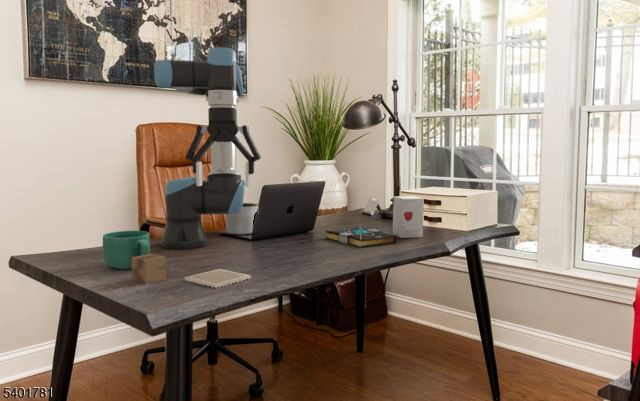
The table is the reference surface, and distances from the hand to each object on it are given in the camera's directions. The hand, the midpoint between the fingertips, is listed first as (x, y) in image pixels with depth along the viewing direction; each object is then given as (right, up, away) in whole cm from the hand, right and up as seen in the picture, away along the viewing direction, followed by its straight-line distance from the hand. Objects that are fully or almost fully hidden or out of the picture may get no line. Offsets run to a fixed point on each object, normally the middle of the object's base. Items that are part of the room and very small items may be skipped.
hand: (223, 186), depth 146 cm
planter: (-4, -17, +63) cm, 66 cm away
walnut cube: (-18, -24, -8) cm, 31 cm away
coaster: (0, -24, -8) cm, 26 cm away
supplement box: (+60, -18, +59) cm, 86 cm away
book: (+41, -19, +48) cm, 66 cm away
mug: (-27, -23, +5) cm, 36 cm away
